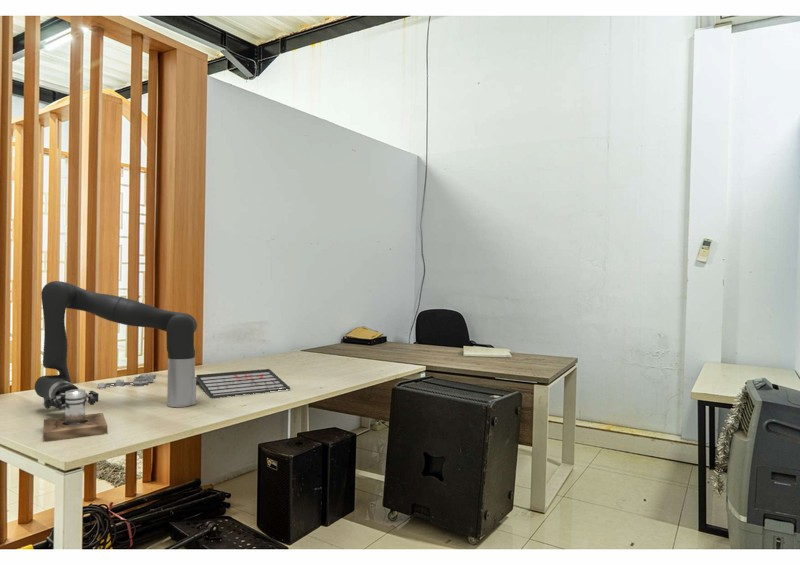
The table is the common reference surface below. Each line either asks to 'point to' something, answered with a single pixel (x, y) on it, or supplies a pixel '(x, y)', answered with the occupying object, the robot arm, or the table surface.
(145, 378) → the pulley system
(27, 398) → the table surface
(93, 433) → the ring block
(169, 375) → the robot arm
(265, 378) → the shutter
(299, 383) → the table surface
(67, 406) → the salt shaker
